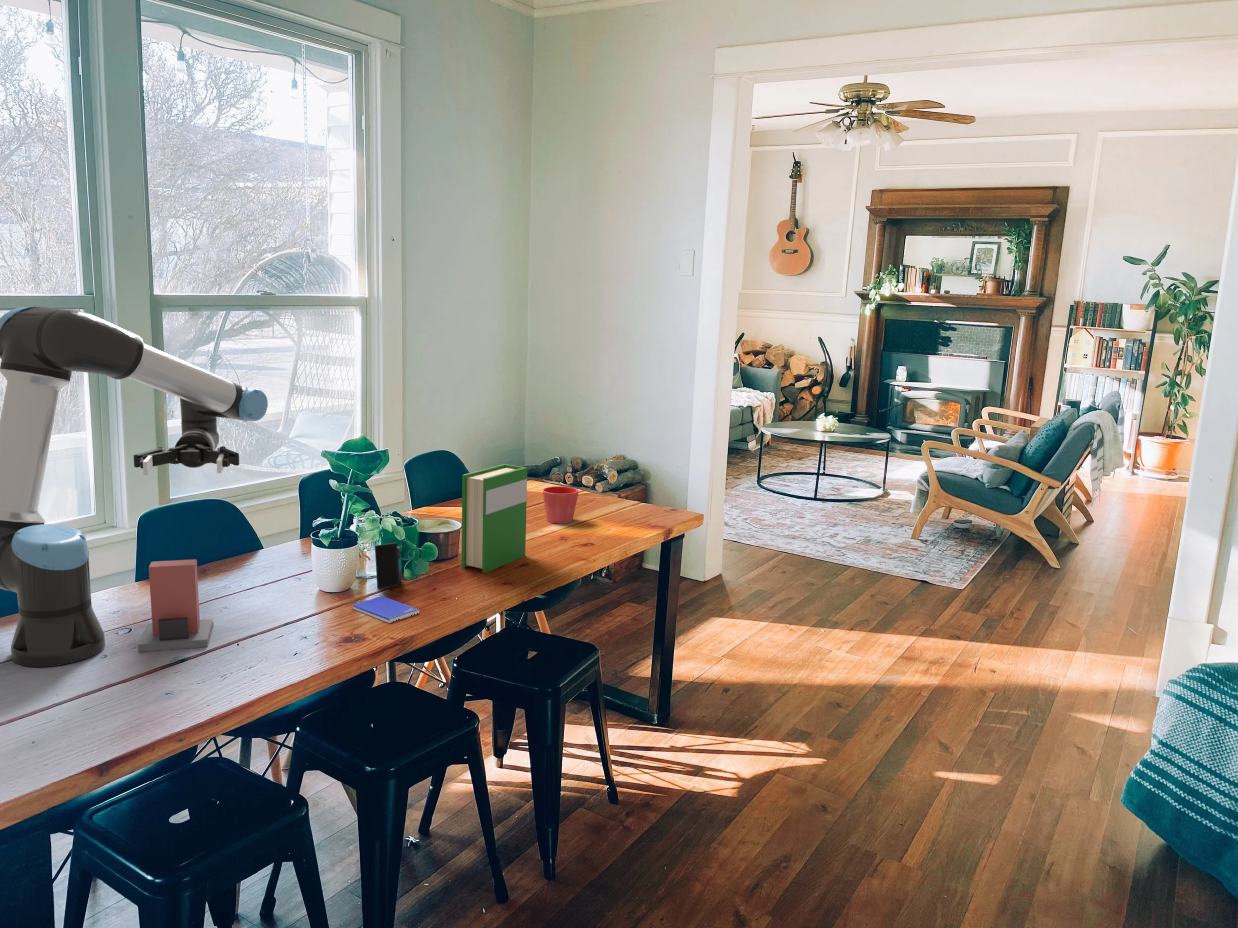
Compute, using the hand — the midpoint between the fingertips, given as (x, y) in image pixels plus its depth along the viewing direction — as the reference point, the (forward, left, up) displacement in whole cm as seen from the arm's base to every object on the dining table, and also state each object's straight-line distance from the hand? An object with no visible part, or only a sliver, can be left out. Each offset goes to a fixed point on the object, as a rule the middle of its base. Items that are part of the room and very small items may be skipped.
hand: (182, 467), depth 187 cm
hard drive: (+39, -4, -33) cm, 52 cm away
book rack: (-1, -12, -32) cm, 34 cm away
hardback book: (+69, +26, -32) cm, 81 cm away
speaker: (+41, +14, -32) cm, 54 cm away
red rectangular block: (-1, -12, -30) cm, 33 cm away
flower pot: (+96, +63, -32) cm, 119 cm away
